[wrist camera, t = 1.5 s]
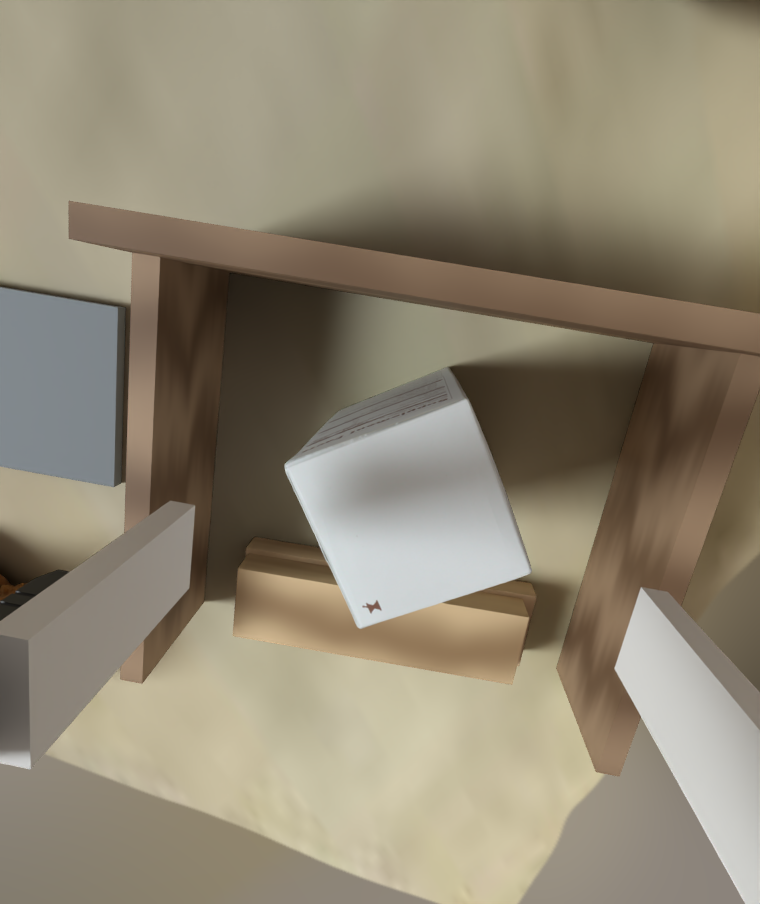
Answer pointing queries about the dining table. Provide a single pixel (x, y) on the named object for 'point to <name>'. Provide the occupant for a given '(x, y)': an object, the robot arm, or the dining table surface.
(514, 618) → the offcut stack
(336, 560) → the supplement box
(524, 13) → the dining table surface
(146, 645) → the walnut rack
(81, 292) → the dining table surface
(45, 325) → the slate mat
